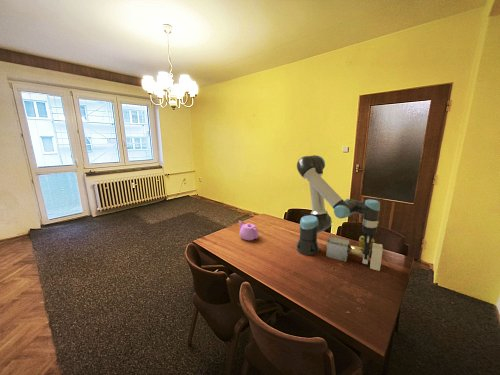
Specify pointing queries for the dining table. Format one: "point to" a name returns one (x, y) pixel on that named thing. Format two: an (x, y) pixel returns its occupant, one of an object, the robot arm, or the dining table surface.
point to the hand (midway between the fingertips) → (365, 260)
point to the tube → (357, 250)
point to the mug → (362, 243)
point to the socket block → (376, 256)
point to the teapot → (248, 231)
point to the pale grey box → (337, 248)
